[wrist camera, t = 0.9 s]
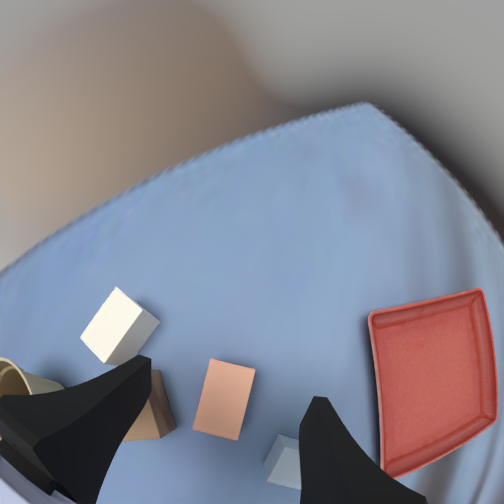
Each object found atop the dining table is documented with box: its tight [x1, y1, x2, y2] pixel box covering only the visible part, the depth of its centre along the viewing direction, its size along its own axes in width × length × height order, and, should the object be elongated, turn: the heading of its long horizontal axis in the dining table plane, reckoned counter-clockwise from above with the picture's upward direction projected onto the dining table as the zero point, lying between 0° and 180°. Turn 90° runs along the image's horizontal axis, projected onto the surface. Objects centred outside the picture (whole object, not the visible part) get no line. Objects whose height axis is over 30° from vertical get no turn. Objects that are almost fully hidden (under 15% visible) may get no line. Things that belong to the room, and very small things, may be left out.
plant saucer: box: [368, 288, 498, 479], centre depth 21 cm, size 18×18×3 cm
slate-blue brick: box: [264, 434, 301, 490], centre depth 17 cm, size 6×4×5 cm, turn 67°
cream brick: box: [80, 287, 160, 366], centre depth 22 cm, size 6×4×5 cm, turn 147°
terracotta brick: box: [193, 359, 256, 441], centre depth 20 cm, size 6×4×5 cm, turn 167°
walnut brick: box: [123, 370, 176, 441], centre depth 20 cm, size 6×4×5 cm, turn 17°
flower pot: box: [0, 357, 65, 440], centre depth 16 cm, size 9×9×9 cm
